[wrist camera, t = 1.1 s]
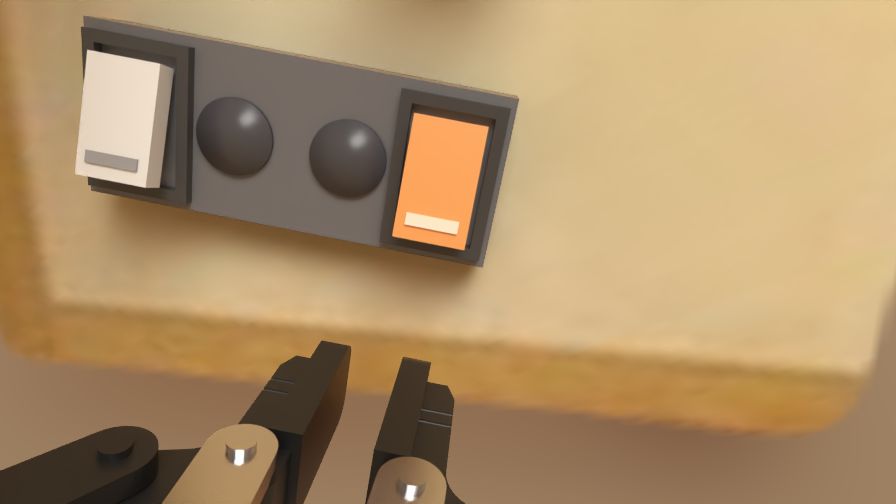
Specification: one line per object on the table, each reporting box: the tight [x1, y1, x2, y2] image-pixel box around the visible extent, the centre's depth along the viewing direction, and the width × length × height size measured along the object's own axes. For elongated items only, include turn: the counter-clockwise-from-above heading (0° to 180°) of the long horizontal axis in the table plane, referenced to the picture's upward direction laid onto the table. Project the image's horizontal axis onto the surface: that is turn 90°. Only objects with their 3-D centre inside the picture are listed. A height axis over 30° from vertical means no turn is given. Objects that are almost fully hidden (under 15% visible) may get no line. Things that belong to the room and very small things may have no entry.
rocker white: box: [75, 50, 174, 188], centre depth 27 cm, size 6×4×1 cm, turn 169°
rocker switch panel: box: [81, 16, 519, 267], centre depth 29 cm, size 9×22×4 cm, turn 80°
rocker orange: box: [392, 113, 489, 250], centre depth 27 cm, size 6×4×1 cm, turn 169°
